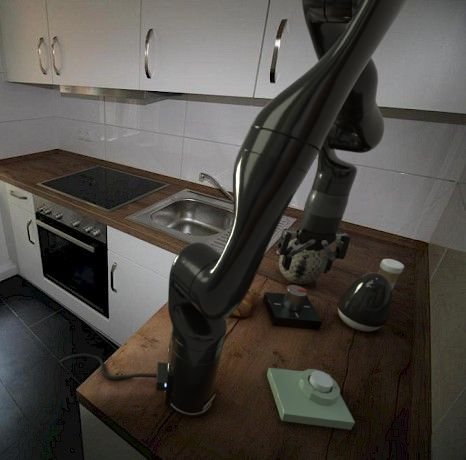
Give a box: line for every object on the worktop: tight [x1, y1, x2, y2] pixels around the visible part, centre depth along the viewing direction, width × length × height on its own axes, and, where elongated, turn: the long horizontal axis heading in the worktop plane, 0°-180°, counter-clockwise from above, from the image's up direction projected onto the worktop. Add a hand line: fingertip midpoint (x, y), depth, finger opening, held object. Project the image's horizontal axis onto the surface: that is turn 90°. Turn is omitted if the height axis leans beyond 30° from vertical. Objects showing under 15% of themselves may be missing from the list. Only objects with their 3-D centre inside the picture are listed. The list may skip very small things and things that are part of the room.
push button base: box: [266, 367, 356, 431], centre depth 61 cm, size 12×10×4 cm
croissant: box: [228, 290, 256, 318], centre depth 86 cm, size 12×11×4 cm
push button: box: [309, 370, 333, 393], centre depth 60 cm, size 4×4×2 cm
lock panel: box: [262, 291, 323, 331], centre depth 82 cm, size 11×10×3 cm
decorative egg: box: [278, 237, 326, 285], centre depth 93 cm, size 12×12×15 cm
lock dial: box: [283, 284, 308, 311], centre depth 81 cm, size 4×4×5 cm
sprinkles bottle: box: [377, 258, 405, 290], centre depth 84 cm, size 5×5×13 cm
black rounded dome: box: [337, 271, 393, 332], centre depth 77 cm, size 10×10×15 cm
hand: (304, 270), depth 77 cm, fingers open, 8 cm apart
